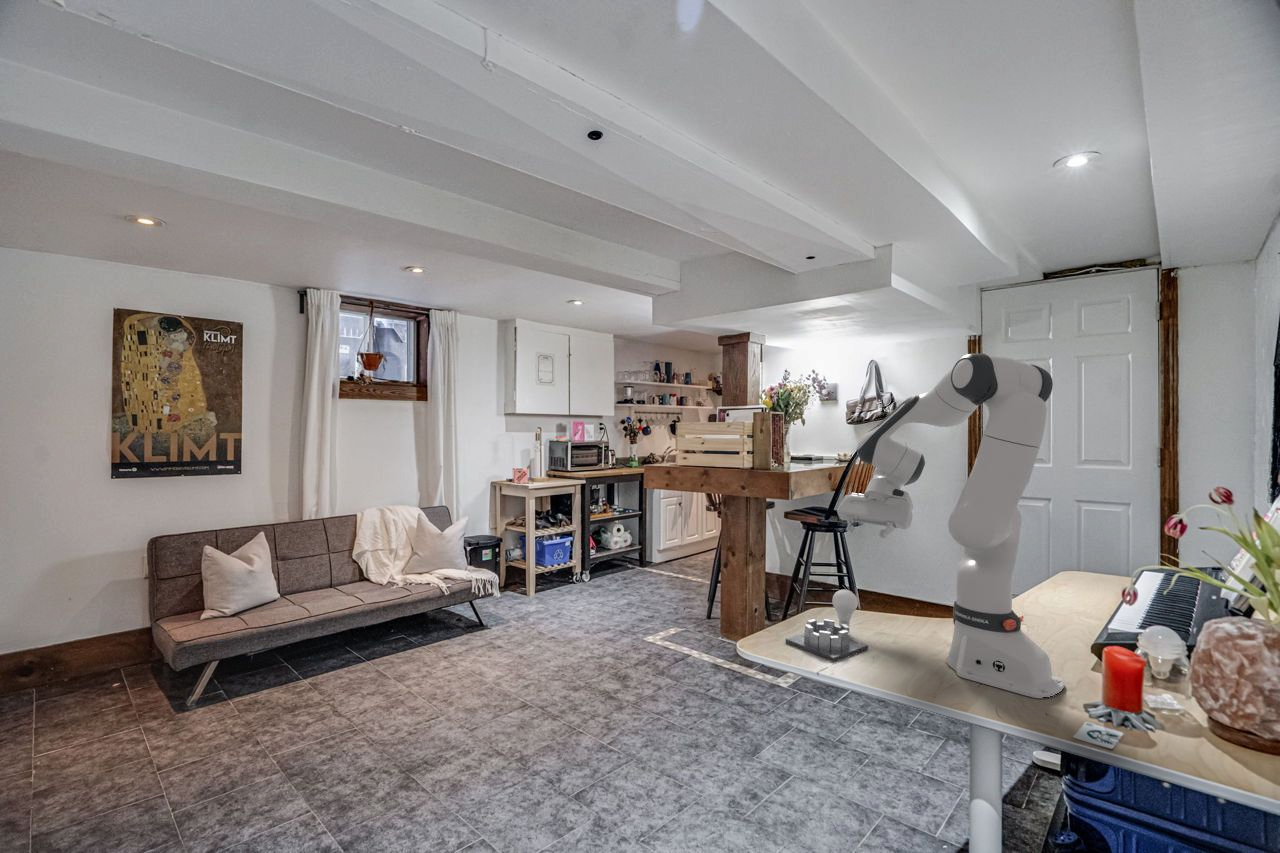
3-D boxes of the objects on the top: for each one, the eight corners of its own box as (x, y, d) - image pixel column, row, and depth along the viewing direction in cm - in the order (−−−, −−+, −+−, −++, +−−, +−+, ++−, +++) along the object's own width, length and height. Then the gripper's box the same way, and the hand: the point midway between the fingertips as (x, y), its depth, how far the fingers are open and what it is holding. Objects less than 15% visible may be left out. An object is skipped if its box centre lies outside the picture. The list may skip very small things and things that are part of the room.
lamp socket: (868, 649, 146) (868, 628, 146) (833, 662, 137) (834, 640, 137) (820, 631, 157) (821, 613, 157) (785, 642, 149) (786, 622, 149)
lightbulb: (829, 632, 157) (830, 590, 157) (833, 625, 162) (834, 585, 162) (854, 637, 154) (856, 594, 154) (858, 629, 160) (859, 588, 159)
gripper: (843, 485, 179) (827, 521, 172) (914, 493, 165) (899, 532, 158) (849, 499, 183) (833, 534, 176) (919, 508, 169) (905, 547, 162)
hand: (865, 534), depth 167 cm, fingers open, 8 cm apart
